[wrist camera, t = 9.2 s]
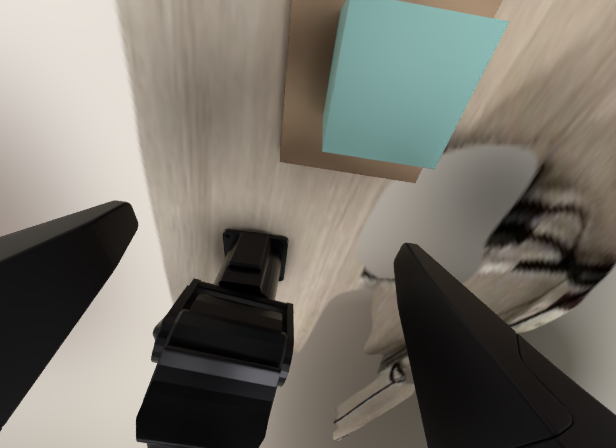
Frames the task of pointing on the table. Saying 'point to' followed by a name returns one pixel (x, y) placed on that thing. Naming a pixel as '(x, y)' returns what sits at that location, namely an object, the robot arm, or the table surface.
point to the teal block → (403, 79)
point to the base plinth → (314, 82)
